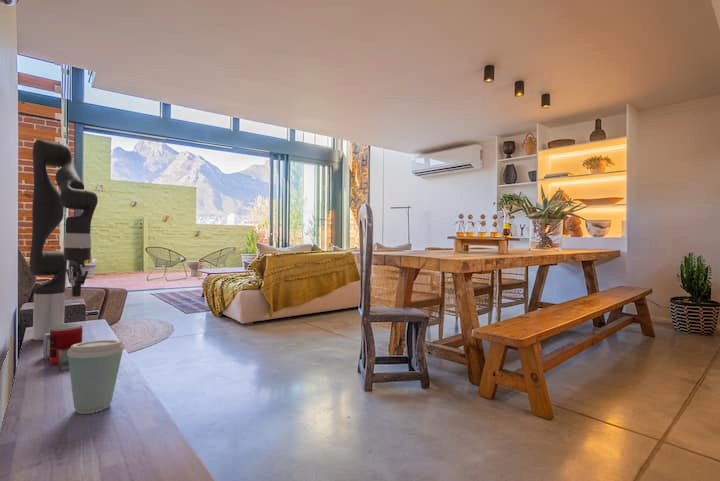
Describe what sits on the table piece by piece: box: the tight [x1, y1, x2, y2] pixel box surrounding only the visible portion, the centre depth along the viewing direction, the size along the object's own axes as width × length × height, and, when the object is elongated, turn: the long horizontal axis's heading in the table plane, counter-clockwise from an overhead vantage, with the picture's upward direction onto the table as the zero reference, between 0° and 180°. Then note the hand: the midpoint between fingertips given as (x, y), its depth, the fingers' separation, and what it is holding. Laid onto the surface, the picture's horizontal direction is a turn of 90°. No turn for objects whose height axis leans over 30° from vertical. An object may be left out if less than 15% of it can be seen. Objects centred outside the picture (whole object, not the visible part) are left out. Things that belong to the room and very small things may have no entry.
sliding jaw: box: [42, 333, 50, 360], centre depth 123 cm, size 9×7×8 cm
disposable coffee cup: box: [67, 339, 125, 415], centre depth 84 cm, size 11×11×15 cm
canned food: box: [49, 322, 83, 366], centre depth 116 cm, size 8×8×11 cm
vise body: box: [58, 347, 71, 373], centre depth 111 cm, size 6×8×6 cm
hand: (76, 296), depth 130 cm, fingers closed
